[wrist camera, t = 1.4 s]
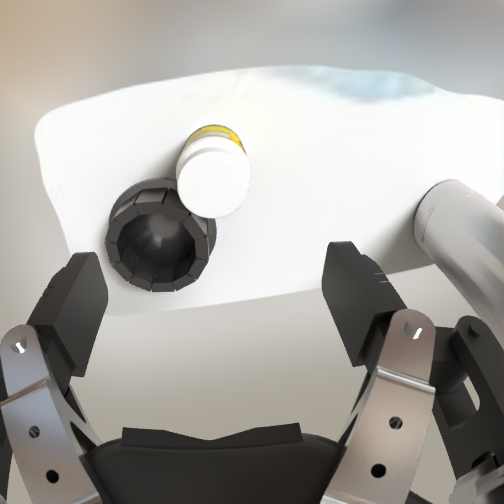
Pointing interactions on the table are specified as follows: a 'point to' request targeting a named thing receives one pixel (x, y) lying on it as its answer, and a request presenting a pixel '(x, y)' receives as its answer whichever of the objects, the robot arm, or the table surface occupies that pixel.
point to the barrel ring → (158, 237)
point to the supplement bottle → (213, 172)
